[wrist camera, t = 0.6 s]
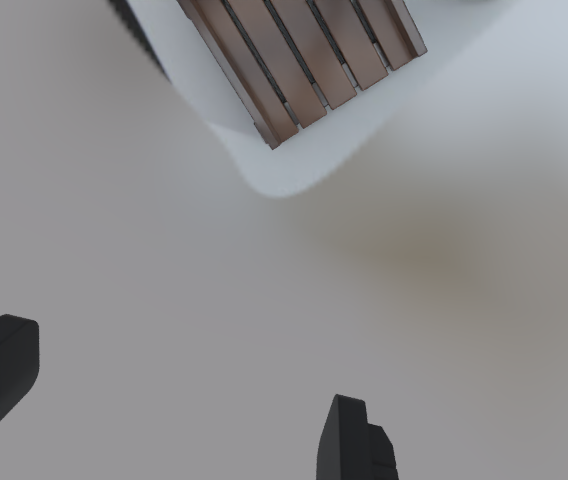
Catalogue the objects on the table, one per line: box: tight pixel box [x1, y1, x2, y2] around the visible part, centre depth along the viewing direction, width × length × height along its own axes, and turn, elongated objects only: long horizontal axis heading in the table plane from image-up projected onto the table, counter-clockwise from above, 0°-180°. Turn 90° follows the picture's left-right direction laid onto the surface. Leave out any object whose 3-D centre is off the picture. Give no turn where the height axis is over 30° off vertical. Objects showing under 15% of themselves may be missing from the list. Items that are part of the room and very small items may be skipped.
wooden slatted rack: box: [177, 0, 427, 150], centre depth 30 cm, size 14×14×4 cm
